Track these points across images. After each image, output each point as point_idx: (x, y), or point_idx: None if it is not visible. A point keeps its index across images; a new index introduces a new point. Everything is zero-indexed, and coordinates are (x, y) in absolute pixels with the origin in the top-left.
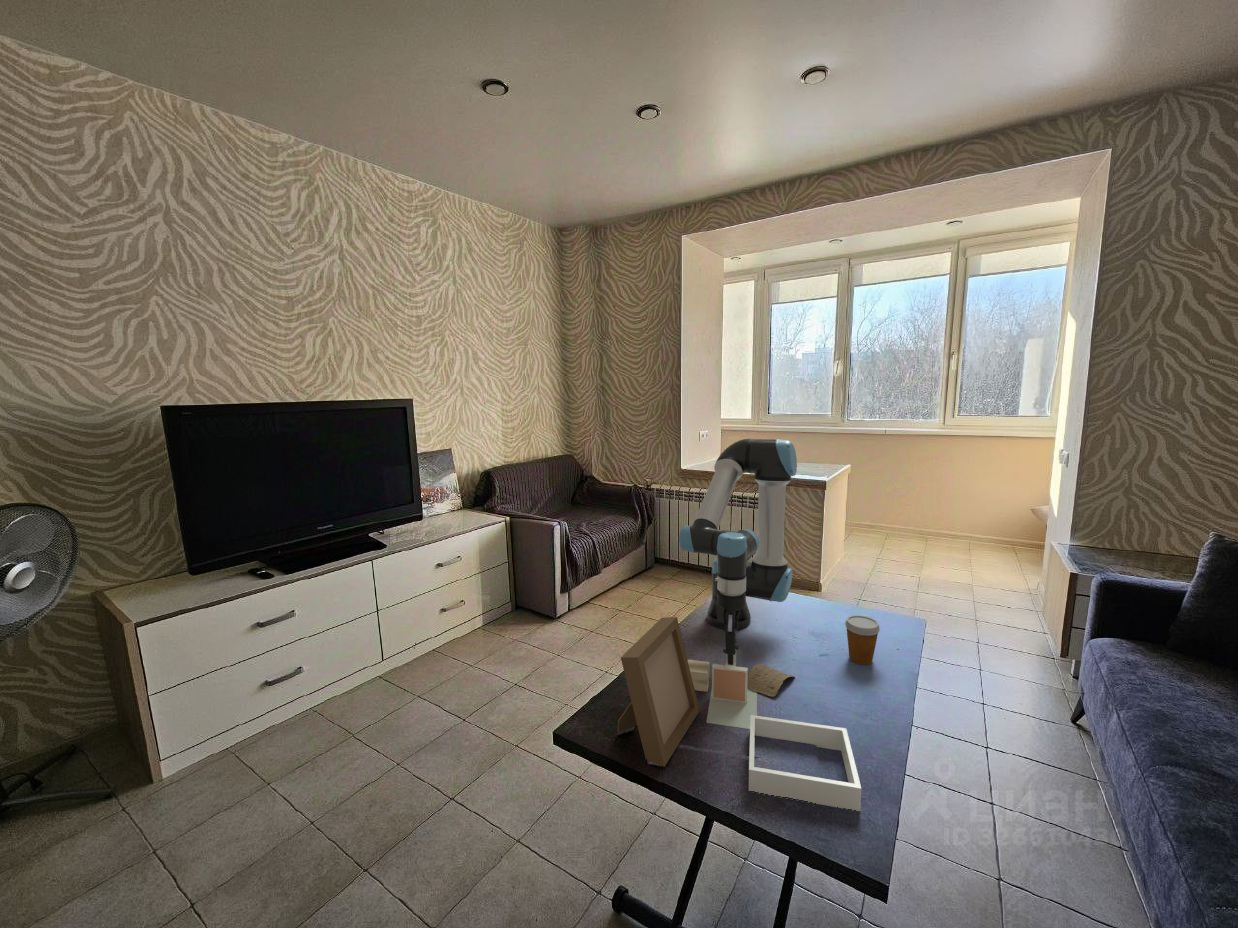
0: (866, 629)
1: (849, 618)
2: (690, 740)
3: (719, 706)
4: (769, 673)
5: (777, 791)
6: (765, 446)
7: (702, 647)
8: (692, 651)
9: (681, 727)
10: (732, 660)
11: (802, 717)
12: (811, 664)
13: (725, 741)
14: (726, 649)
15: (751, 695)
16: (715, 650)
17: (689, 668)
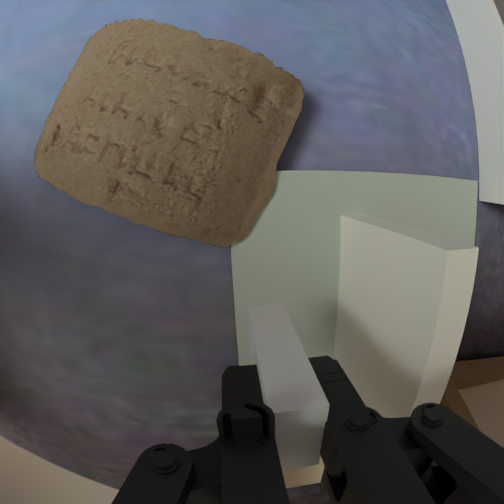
0: None
1: None
2: (489, 340)
3: None
4: (143, 109)
5: None
6: None
7: (29, 400)
8: (65, 428)
9: (502, 371)
10: (346, 381)
11: (367, 20)
12: (15, 19)
13: (498, 265)
14: (445, 478)
15: (305, 197)
16: (18, 364)
17: (306, 477)
